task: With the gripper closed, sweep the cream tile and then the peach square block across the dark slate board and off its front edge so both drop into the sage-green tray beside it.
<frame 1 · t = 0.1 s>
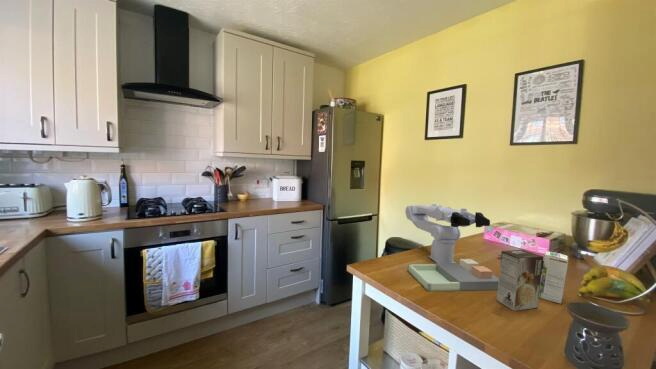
hand: (479, 222, 96), 22 cm above the kitchen island, tool horizontal, fingers open, 7 cm apart
salad plate: (528, 267, 117), on the kitchen island
syrup box: (550, 298, 89), on the kitchen island
slate board: (466, 279, 100), on the kitchen island
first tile: (468, 267, 103), point 3 cm above the kitchen island, touching slate board
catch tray: (431, 279, 98), on the kitchen island
coffee box: (516, 304, 84), on the kitchen island
peach square block: (481, 275, 96), point 3 cm above the kitchen island, touching slate board
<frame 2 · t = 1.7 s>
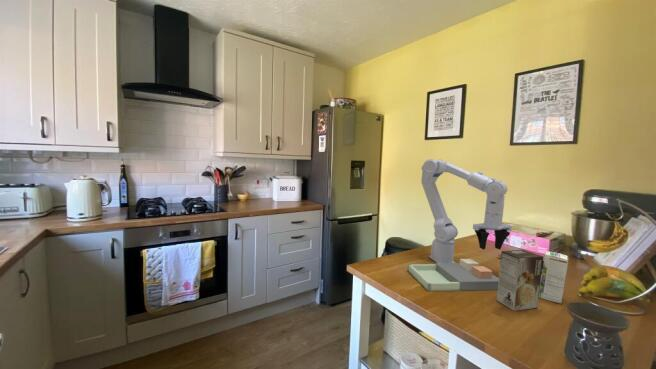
hand: (490, 248, 104), 10 cm above the kitchen island, tool pointing down, fingers open, 6 cm apart
nothing on the kitchen island moved.
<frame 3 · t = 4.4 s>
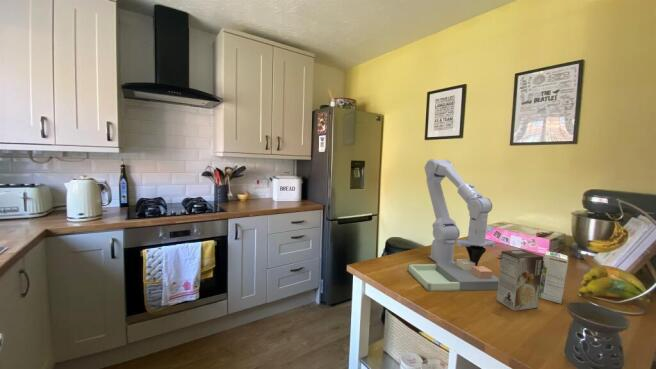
hand: (473, 264, 104), 4 cm above the kitchen island, tool pointing down, fingers closed
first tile: (465, 267, 103), point 3 cm above the kitchen island, touching gripper
everything else where it was.
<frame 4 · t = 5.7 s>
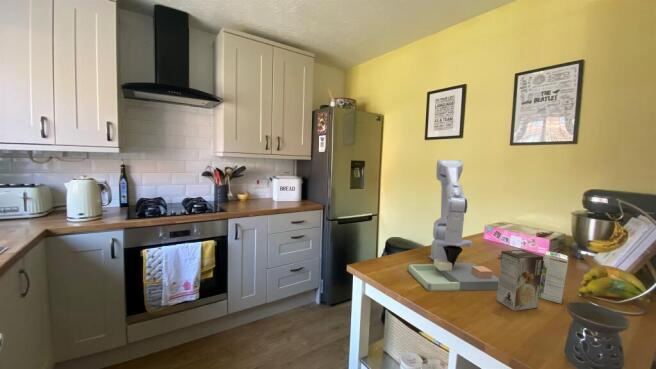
hand: (450, 265, 102), 4 cm above the kitchen island, tool pointing down, fingers closed
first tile: (442, 267, 102), point 3 cm above the kitchen island, touching gripper, slate board
everything else where it was.
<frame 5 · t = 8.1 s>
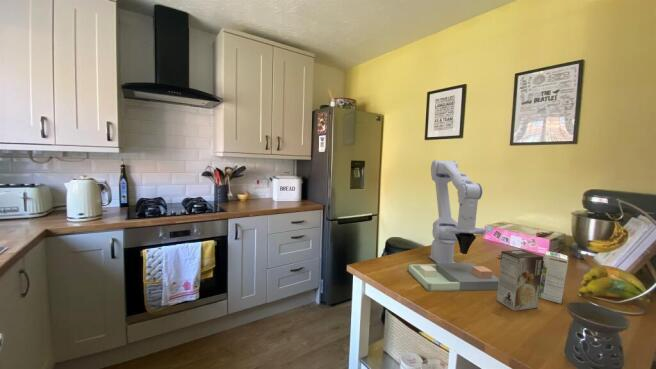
hand: (463, 253, 100), 9 cm above the kitchen island, tool pointing down, fingers closed
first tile: (428, 268, 101), point 3 cm above the kitchen island, tilted 180°, touching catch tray
everything else where it was.
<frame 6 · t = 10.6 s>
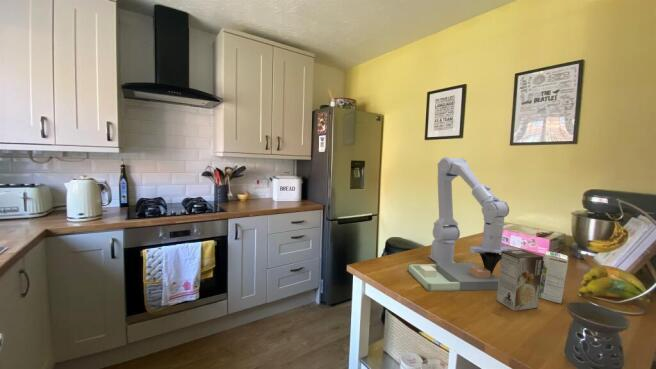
hand: (488, 272, 97), 4 cm above the kitchen island, tool pointing down, fingers closed
nothing on the kitchen island moved.
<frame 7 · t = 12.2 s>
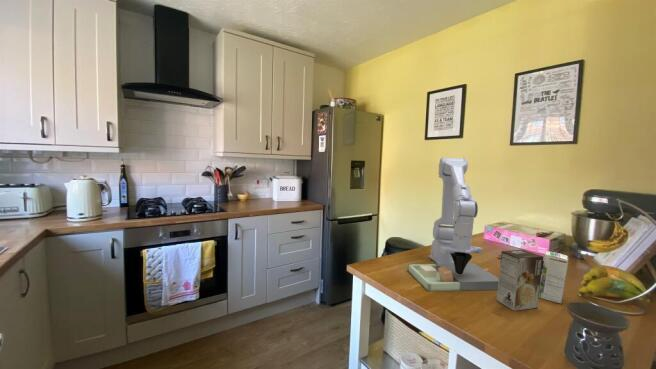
hand: (458, 273, 95), 4 cm above the kitchen island, tool pointing down, fingers closed
peach square block: (449, 274, 95), point 3 cm above the kitchen island, tilted 108°, touching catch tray
everything else where it was.
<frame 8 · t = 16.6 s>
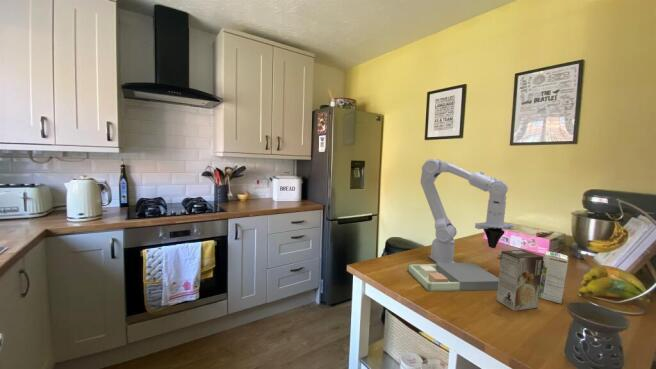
hand: (491, 247, 105), 10 cm above the kitchen island, tool pointing down, fingers closed
peach square block: (438, 276, 94), point 3 cm above the kitchen island, tilted 180°, touching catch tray
everything else where it was.
at the end: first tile inside the target area (3.4 cm from its centre), point 3.0 cm above the kitchen island; peach square block inside the target area (3.8 cm from its centre), point 3.0 cm above the kitchen island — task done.
